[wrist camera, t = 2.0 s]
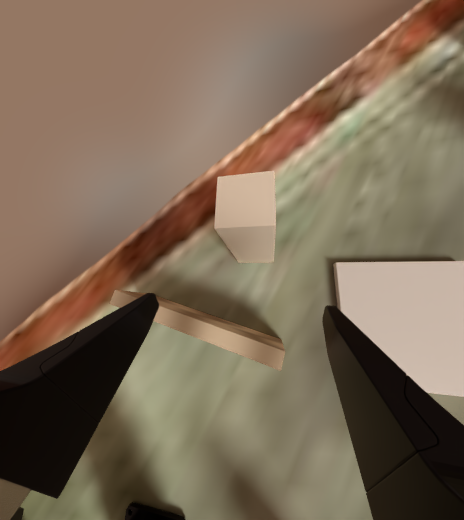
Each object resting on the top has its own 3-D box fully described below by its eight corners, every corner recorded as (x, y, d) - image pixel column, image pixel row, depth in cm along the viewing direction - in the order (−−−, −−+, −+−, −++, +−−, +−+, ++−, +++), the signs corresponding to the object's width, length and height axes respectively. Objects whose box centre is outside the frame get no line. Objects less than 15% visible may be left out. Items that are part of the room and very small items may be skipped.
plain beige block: (238, 262, 24) (214, 228, 14) (239, 230, 25) (217, 174, 15) (273, 262, 23) (275, 225, 13) (273, 228, 24) (274, 168, 14)
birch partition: (281, 339, 21) (285, 351, 15) (278, 353, 20) (280, 370, 15) (150, 293, 25) (115, 289, 20) (145, 304, 25) (109, 303, 19)
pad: (344, 380, 19) (348, 383, 18) (333, 264, 22) (336, 262, 21) (495, 396, 16) (509, 401, 15) (459, 263, 19) (468, 261, 18)
